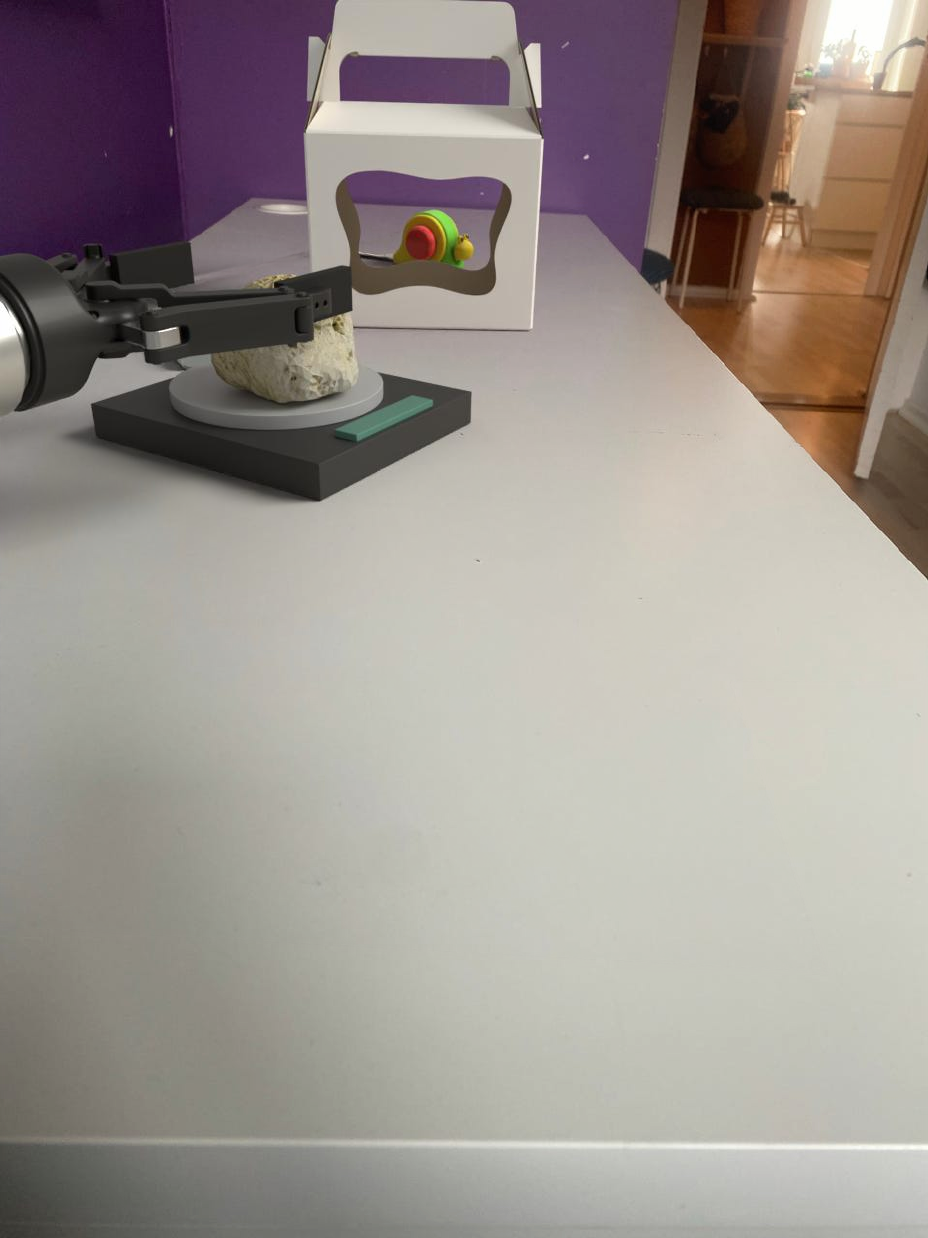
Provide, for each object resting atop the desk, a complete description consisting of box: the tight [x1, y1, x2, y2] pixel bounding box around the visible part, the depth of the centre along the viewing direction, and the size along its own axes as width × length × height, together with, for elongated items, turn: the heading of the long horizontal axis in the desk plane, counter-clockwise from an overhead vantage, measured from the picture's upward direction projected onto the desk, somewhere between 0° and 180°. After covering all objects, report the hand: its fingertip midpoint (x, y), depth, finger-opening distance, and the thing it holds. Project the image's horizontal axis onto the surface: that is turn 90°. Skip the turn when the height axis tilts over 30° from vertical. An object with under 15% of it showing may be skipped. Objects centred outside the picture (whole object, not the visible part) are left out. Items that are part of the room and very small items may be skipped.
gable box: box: [303, 0, 545, 332], centre depth 98 cm, size 22×13×28 cm, turn 92°
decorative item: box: [211, 273, 358, 404], centre depth 69 cm, size 12×9×10 cm
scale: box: [90, 362, 473, 502], centre depth 72 cm, size 20×18×3 cm
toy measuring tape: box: [359, 209, 475, 269], centre depth 127 cm, size 6×20×7 cm, turn 59°
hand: (264, 274), depth 66 cm, fingers open, 13 cm apart
